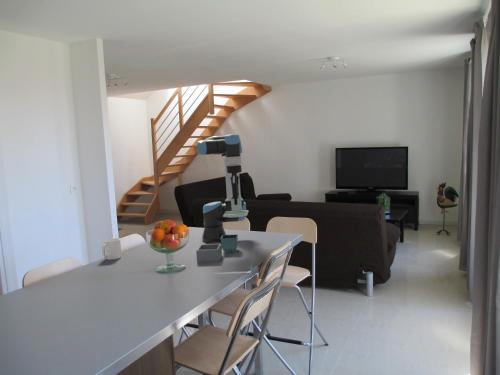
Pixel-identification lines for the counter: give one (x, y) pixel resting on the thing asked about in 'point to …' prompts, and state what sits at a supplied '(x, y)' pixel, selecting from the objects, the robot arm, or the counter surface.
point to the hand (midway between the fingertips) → (236, 210)
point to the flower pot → (229, 242)
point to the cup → (112, 249)
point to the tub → (209, 253)
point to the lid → (236, 213)
